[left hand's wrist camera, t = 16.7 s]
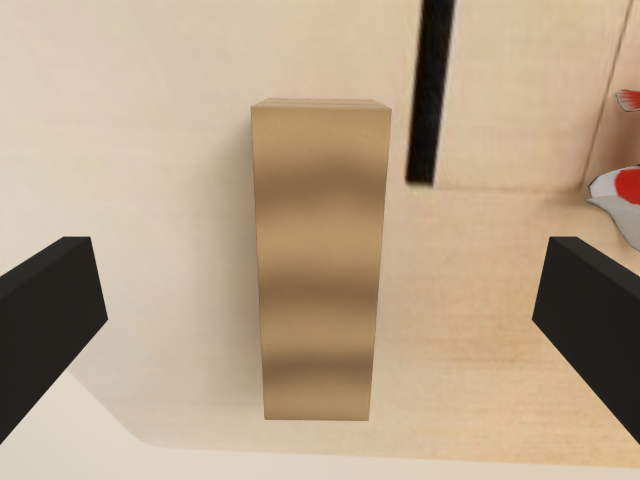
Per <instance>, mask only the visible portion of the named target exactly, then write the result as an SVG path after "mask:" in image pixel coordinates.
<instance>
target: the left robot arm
mask: <svg viewBox="0 0 640 480" xmlns="http://www.w3.org/2000/svg"><path fill="white" fill-rule="evenodd" d="M107 320H108V317H107V312H106V307H105V303H104V298H103V293H102V289H101V284H100V280H99V275H98V270H97V266H96V261H95V256H94V252H93V247H92V242H91V238H90V237H62V238H61V239H59V240H57V241H56V242H54V243H53V244H51V245H50V246H48V247H46V248H45V249H43V250H42V251H40V252H38V253H37V254H35V255H34V256H32V257H31V258H29V259H27V260H26V261H24V262H23V263H21V264H20V265H18V266H16V267H15V268H13V269H12V270H10V271H8V272H7V273H5V274H4V275H2V276H1V277H0V444H1V443H2V442H3V441H4V440H5V439H6V438H7V436H8V435H9V434H10V433H11V432H12V431H13V429H14V428H15V427H16V426H17V425H18V424H19V422H20V421H21V420H22V419H23V418H24V417H25V416H26V414H27V413H28V412H29V411H30V410H31V409H32V407H33V406H34V405H35V404H36V403H37V402H38V400H39V399H40V398H41V397H42V396H43V395H44V393H45V392H46V391H47V390H48V389H49V388H50V386H51V385H52V384H53V383H54V382H55V381H56V380H57V378H58V377H59V376H60V375H61V374H62V373H63V371H64V370H65V369H66V368H67V367H68V366H69V365H70V363H71V362H72V361H73V360H74V359H75V358H76V356H77V355H78V354H79V353H80V352H81V351H82V349H83V348H84V347H85V346H86V345H87V344H88V342H89V341H90V340H91V339H92V338H93V337H94V336H95V334H96V333H97V332H98V331H99V330H100V329H101V327H102V326H103V325H104V324H105V323H106V322H107ZM532 320H533V322H534V323H535V324H536V325H537V326H538V327H539V329H540V330H541V331H542V332H543V333H544V334H545V336H546V337H547V338H548V339H549V340H550V341H551V342H552V344H553V345H554V346H555V347H556V348H557V349H558V351H559V352H560V353H561V354H562V355H563V356H564V358H565V359H566V360H567V361H568V362H569V363H570V365H571V366H572V367H573V368H574V369H575V370H576V371H577V373H578V374H579V375H580V376H581V377H582V378H583V380H584V381H585V382H586V383H587V384H588V385H589V387H590V388H591V389H592V390H593V391H594V392H595V393H596V395H597V396H598V397H599V398H600V399H601V400H602V402H603V403H604V404H605V405H606V406H607V407H608V409H609V410H610V411H611V412H612V413H613V414H614V416H615V417H616V418H617V419H618V420H619V421H620V422H621V424H622V425H623V426H624V427H625V428H626V429H627V431H628V432H629V433H630V434H631V435H632V436H633V438H634V439H635V440H636V441H637V442H638V443H639V444H640V277H639V276H638V275H636V274H635V273H633V272H632V271H630V270H628V269H627V268H625V267H624V266H622V265H620V264H619V263H617V262H616V261H614V260H613V259H611V258H609V257H608V256H606V255H605V254H603V253H602V252H600V251H598V250H597V249H595V248H594V247H592V246H590V245H589V244H587V243H586V242H584V241H583V240H581V239H579V238H578V237H550V238H549V242H548V247H547V252H546V256H545V261H544V266H543V270H542V275H541V280H540V284H539V289H538V293H537V298H536V303H535V307H534V312H533V317H532Z"/></svg>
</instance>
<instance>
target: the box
mask: <svg viewBox="0 0 640 480" xmlns="http://www.w3.org/2000/svg"><path fill="white" fill-rule="evenodd" d="M251 123H252V146H253V169H254V191H255V214H256V236H257V259H258V281H259V304H260V326H261V349H262V372H263V394H264V417H265V420H336V421H368V420H369V410H370V396H371V382H372V369H373V355H374V342H375V328H376V314H377V301H378V287H379V274H380V260H381V246H382V233H383V219H384V206H385V192H386V178H387V165H388V151H389V138H390V124H391V108H389V107H387V106H385V105H383V104H381V103H379V102H377V101H374V100H342V99H276V98H268V99H266V100H264V101H262V102H260V103H258V104H256V105H253V106H251Z"/></svg>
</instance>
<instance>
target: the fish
mask: <svg viewBox="0 0 640 480" xmlns="http://www.w3.org/2000/svg"><path fill="white" fill-rule="evenodd" d="M616 97H617V100H618V103H619V104H620V106H621V107H622V109H623V110H624V111H626V112H632V111H640V91H631V90H621V91H619V92H617V93H616ZM588 187H589V189H590V192H591V195H592V197H593V198H590V199H587V200H584V201H586V202H588V203H590V204H592V205H595V206H597V207H599V208H601V209H603V210H605V211H606V212H608V213H609V214H610V215H611V217H612V219H613V221H614V223H615V224H616V226H617V227H618V229H619V230H620V232H621V234H622V235H623V237H624V238H625V240H626V241H627V242H628V243H629V245H630V246H631V247H633V248H634V249H636V250H638V251H639V252H640V164H639V165H635V166H630V167H626V168H621V169H618V170H615V171H611V172H608V173H606V174H603V175H600V176H598V177H596V178H595V179H594V180H593V182H592V183H591V184H590V185H589V186H588Z"/></svg>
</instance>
